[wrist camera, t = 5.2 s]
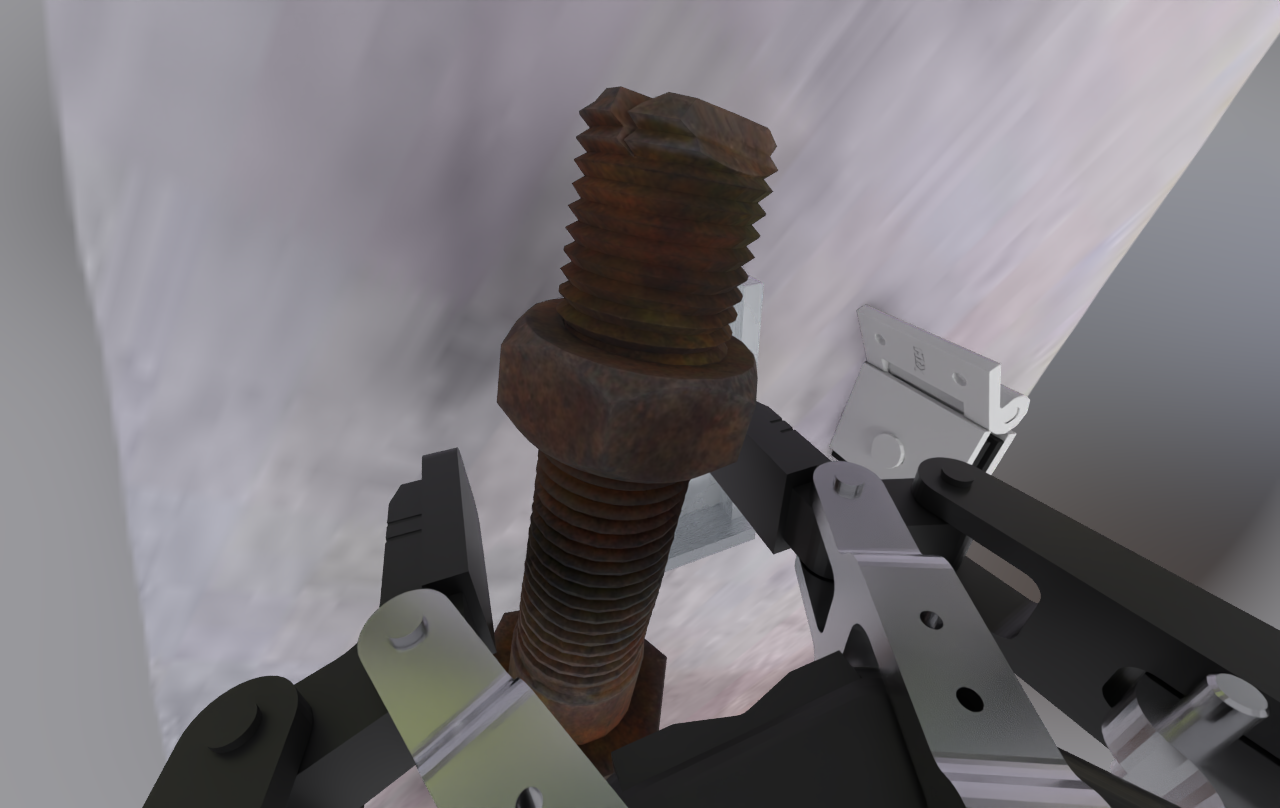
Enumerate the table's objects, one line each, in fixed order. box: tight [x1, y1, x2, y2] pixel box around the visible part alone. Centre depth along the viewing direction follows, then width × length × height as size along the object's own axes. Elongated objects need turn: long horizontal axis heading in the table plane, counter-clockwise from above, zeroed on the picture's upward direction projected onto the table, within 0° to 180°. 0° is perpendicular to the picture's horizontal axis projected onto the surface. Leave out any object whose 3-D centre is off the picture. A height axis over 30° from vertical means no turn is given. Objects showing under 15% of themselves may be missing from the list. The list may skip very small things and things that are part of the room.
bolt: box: [493, 87, 778, 780], centre depth 10 cm, size 6×5×15 cm
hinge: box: [829, 304, 1030, 479], centre depth 34 cm, size 14×5×10 cm, turn 3°
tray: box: [665, 275, 764, 572], centre depth 31 cm, size 11×19×4 cm, turn 4°
